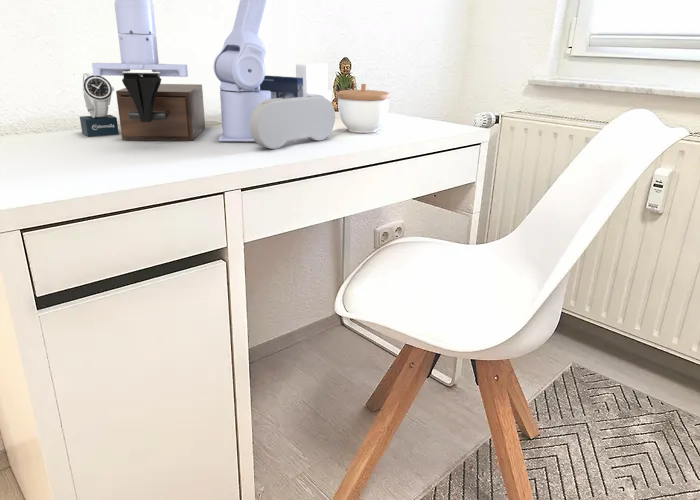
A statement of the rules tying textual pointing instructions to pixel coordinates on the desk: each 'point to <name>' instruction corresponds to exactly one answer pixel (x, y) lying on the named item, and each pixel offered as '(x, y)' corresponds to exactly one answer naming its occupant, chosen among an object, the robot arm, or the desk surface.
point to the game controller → (292, 120)
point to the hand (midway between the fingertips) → (146, 121)
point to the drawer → (156, 117)
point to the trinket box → (363, 109)
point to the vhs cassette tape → (283, 86)
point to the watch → (97, 107)
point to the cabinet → (193, 108)
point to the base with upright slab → (313, 79)
